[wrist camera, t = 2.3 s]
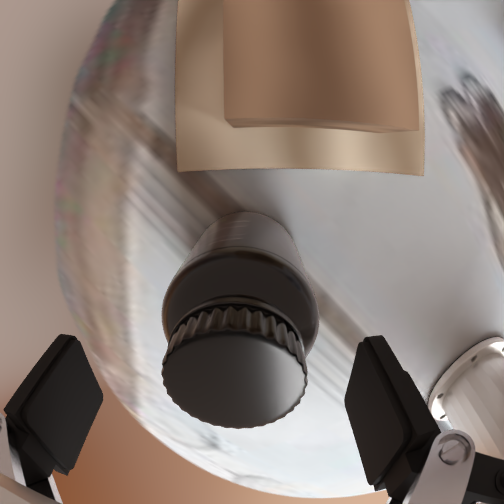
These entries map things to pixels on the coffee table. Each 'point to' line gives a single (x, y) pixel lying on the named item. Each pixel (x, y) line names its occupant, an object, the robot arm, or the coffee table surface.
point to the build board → (268, 138)
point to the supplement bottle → (239, 324)
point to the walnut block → (319, 65)
